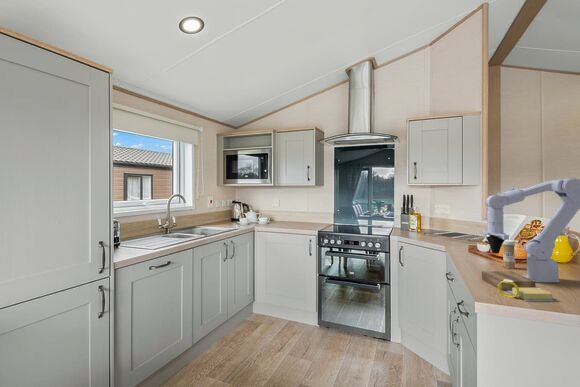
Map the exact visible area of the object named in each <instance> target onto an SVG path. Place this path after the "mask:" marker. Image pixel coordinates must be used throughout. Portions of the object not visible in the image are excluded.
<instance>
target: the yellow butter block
mask: <svg viewBox="0 0 580 387" xmlns="http://www.w3.org/2000/svg"><path fill="white" fill-rule="evenodd" d="M512 293H513V294H512ZM512 293H511V294H512V295H514V294H515V295H516V293H517V289H516V288H512ZM515 295H514V296H515ZM517 296H519V297H521V298H523V299H550V300H553V293H551V292H549V291H547V290H545V289H543V288H541V287H536V288H519V294H518V295H517ZM517 296H516V297H517ZM519 297H518V298H519ZM521 298H520V299H521ZM523 299H522V300H523Z"/></svg>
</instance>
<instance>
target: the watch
mask: <svg viewBox="0 0 580 387" xmlns="http://www.w3.org/2000/svg"><path fill="white" fill-rule="evenodd" d="M503 282H505V283H509V284H512V285H514V286H515V288H516V289H517V293H516V295H510V294H505V293H504V292H503V290H501V289H500V285H501V283H503ZM497 290H498V292H499V294H500V295H501V296H503V297H507V298H512V299H513V298H516V297H517V295H518V294H519V288H518V286H517V285H516V284H515V283H513V281H512V280H508V279H504V281H502V282H500V283H499V284H498V288H497Z"/></svg>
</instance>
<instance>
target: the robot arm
mask: <svg viewBox="0 0 580 387" xmlns="http://www.w3.org/2000/svg"><path fill="white" fill-rule="evenodd" d="M545 192H554V193H555V194H556V195H558V197H560V198H559V199H560V200H561V202H562V203H561V205H560V206H559V207H558V209H557V210H556V211H555V213H554V214H553V216H552V217H551V218H550V219H549V221H548V222H547V224H546V225H545V226H544V228H543V229H542V230H541V232H540V233H539V234H538V235H536V236H534V237H533V238H532V239H531V240H529V241H527V242H526V243H525V244H524V251H525V252H526V253H527V255H526V274H525V275H524V274H522V275H521V276H524V277H526V278H528V279H531V280H533V281H535V283H561V281H560V280H559V264H558V263H557V261H556V260H555V259H553V258H551V257H552V256H553V250H554V249H555V247H556V240H557V239H558V238H559V236H560V235H561V234H562V233H563V231H564V230H565V229H566V227H567V226H568V225H569V224H570V222H571V221H572V220H573V219H574V217H575V215H576V214H577V213H578V211H580V179H579V178H576V177H569V178H557V179H553V180H548V181H544V182H540V183H538V184H536V185H533V186H530V187H526V188H524V189H521V188H517V187H516V188H515V187H511V188H510V189H509V190H507V191H504V192H497V193H496V195H495V194H494V195H489V196H488V197H487V198H486V200H485V205H486V206H487V212H486V213H487V215H486V216H487V218H486V219H487V220H486V221H487V229H482V230H483V231H482V233H483V235H487V236H486V237H485V238H486V240H487V242H488V244H489V247H490V251H491V253H492V254H494V255H495V254H500V250H501V248H502V246H503V242H504V241H505V240H510V235H509V234H507V233H505V232H504V207H505V206H509V205H513V204H517V203H519V202H520V203H521V202H523V201H525V199H526V198H527V197H530V196H533V195H537V194H540V193H545Z"/></svg>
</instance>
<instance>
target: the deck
mask: <svg viewBox="0 0 580 387" xmlns="http://www.w3.org/2000/svg"><path fill="white" fill-rule="evenodd" d="M504 279H508V280H512V281H513V283H515V284H516V285H517V286H518V288H537V287H536V282H535V281H533V280H531V279H528V278H526V277H524V276H522V275H521V274H520V273H516V272H515V271H505V270H504V271H496V270H494V271H488V270H487V271H481V281H484V282H486V283H487V284H490V285H491V286H493V287H494V288H497V289H498V284H499V283H500V282H502V281H504ZM512 288H515V286H514V285H512V284H509V283H505V282H503V283H501V285H500V289H501V291H506V290H512Z"/></svg>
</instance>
